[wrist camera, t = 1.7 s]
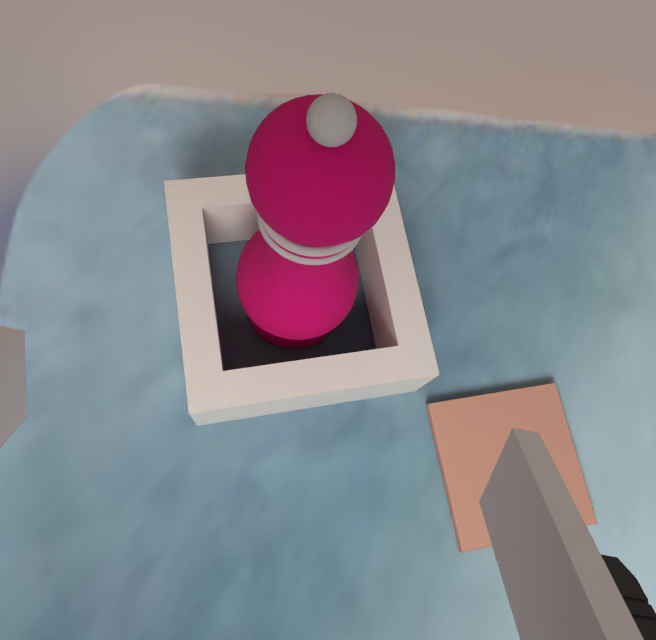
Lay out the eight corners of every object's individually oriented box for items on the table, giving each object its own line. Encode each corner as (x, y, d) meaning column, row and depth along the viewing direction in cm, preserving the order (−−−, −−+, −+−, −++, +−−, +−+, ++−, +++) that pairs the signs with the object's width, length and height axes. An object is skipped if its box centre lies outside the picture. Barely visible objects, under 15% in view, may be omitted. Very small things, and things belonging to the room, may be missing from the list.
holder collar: (372, 201, 41) (388, 162, 36) (415, 391, 37) (439, 374, 32) (174, 220, 38) (163, 181, 34) (197, 425, 34) (188, 413, 30)
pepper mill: (249, 366, 36) (248, 215, 17) (228, 263, 38) (207, 26, 19) (357, 345, 37) (467, 183, 18) (332, 247, 39) (408, 10, 20)
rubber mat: (551, 384, 38) (555, 382, 38) (592, 522, 36) (597, 523, 35) (425, 404, 37) (428, 403, 36) (459, 551, 34) (462, 552, 34)
